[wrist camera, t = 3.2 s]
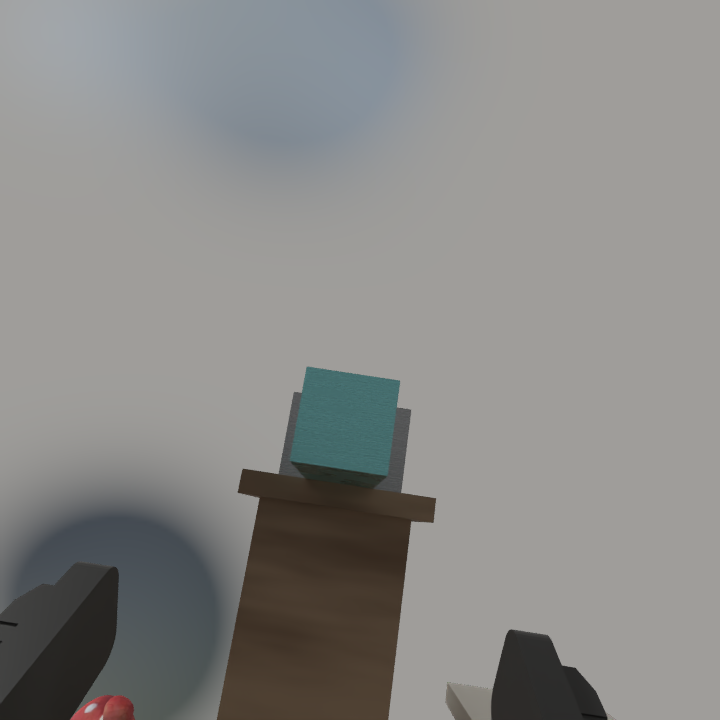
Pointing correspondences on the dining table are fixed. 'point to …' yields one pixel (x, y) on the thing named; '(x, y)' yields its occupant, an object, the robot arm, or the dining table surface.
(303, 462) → the bar
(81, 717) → the decorative ornament
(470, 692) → the low cream stand
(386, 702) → the tall walnut stand
